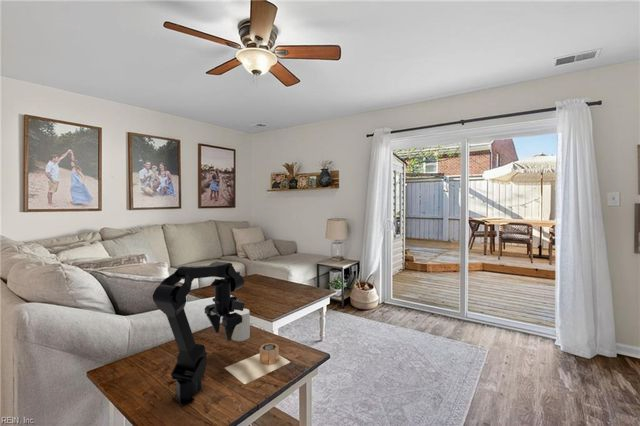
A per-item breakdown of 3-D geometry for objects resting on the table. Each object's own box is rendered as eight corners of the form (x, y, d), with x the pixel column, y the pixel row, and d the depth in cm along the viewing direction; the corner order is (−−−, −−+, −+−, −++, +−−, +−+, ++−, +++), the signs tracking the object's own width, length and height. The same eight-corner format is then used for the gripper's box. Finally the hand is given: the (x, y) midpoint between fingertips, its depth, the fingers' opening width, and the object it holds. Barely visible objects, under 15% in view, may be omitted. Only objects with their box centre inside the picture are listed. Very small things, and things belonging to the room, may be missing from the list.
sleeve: (273, 365, 111) (273, 352, 111) (257, 363, 113) (257, 350, 113) (280, 356, 118) (280, 344, 117) (265, 354, 119) (265, 342, 119)
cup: (227, 338, 136) (227, 312, 136) (240, 331, 143) (240, 307, 143) (241, 342, 132) (241, 316, 132) (253, 335, 139) (253, 310, 139)
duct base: (244, 388, 100) (244, 369, 99) (224, 371, 109) (224, 354, 109) (290, 365, 114) (290, 349, 114) (269, 352, 124) (269, 337, 123)
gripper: (255, 296, 110) (255, 337, 111) (230, 286, 124) (230, 323, 124) (227, 303, 103) (227, 347, 103) (203, 291, 116) (204, 331, 116)
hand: (223, 336), depth 112 cm, fingers open, 9 cm apart
